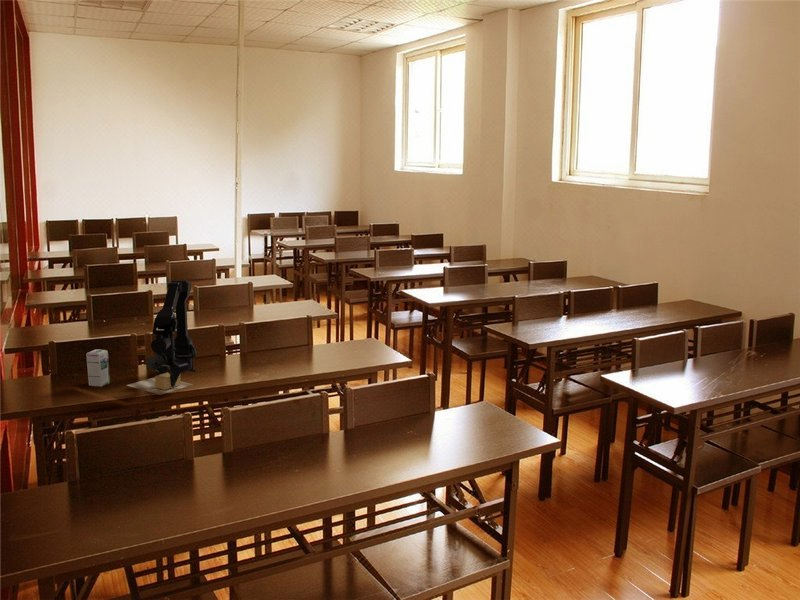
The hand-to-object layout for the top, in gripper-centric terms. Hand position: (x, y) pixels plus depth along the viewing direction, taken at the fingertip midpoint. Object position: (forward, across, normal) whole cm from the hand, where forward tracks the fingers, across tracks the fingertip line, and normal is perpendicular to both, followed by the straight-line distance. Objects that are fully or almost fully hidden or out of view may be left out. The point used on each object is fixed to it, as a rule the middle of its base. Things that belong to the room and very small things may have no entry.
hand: (168, 385), depth 279 cm
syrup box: (+2, -25, -13) cm, 28 cm away
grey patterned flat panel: (+2, -5, 0) cm, 5 cm away
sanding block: (+1, 0, 0) cm, 1 cm away
